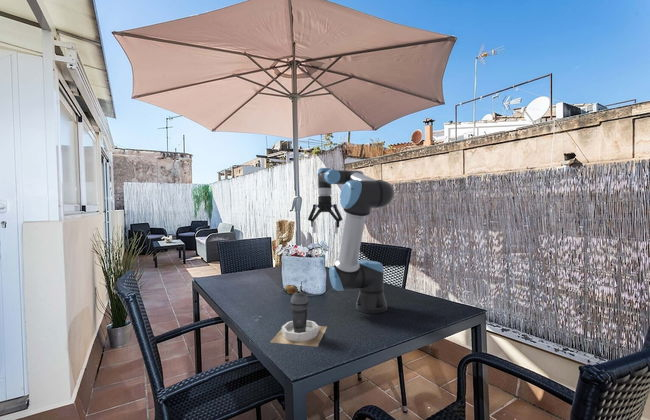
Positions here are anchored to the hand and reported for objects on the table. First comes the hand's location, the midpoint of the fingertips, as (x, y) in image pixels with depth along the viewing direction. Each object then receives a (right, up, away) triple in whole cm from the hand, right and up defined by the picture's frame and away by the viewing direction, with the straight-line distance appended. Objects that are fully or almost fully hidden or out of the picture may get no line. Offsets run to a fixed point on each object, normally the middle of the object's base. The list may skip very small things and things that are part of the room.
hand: (325, 233), depth 175 cm
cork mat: (-10, -36, -54) cm, 66 cm away
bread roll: (-19, -35, +5) cm, 40 cm away
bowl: (-10, -35, -54) cm, 66 cm away
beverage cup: (-10, -35, -54) cm, 65 cm away
